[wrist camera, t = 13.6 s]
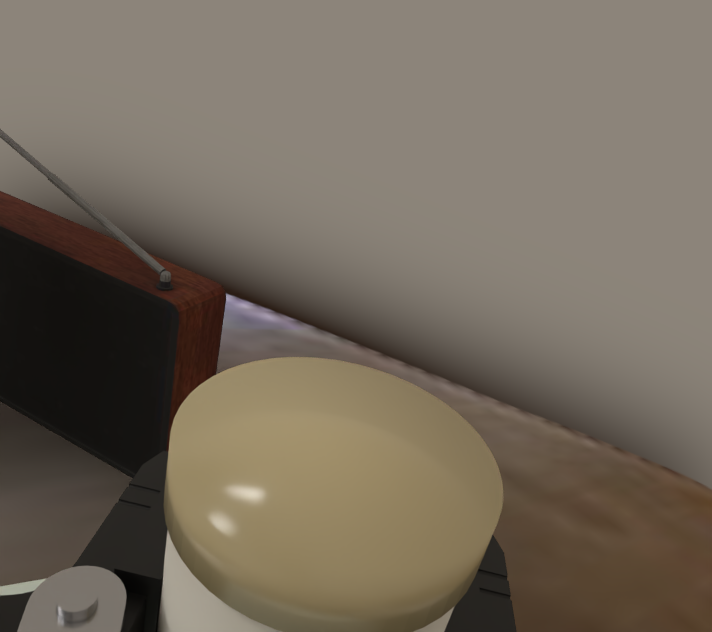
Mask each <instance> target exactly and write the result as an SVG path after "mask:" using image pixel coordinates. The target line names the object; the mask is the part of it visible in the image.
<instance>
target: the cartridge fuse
mask: <svg viewBox="0 0 712 632" xmlns="http://www.w3.org/2000/svg"><path fill="white" fill-rule="evenodd" d="M502 505H503V485H502V478H501V475H500V471H499V468H498V465H497V463H496V461H495V459H494V457H493V455H492V452H491V451H490V449H489V448H488V446H487V445H486V443H485V442H484V440H483V439H482V438H481V436H480V435H479V434H478V433H477V432H476V430H475V429H474V428H473V427H472V426H471V425H470V424H469V423H468V422H467V421H466V420H465V419H464V418H463V417H462V416H461V415H459V414H458V413H457V412H456V411H454V410H453V409H452V408H451V407H450V406H448V405H447V404H445V403H444V402H442V401H441V400H440V399H438V398H437V397H435V396H433V395H432V394H430V393H428V392H427V391H425V390H423V389H421V388H420V387H418V386H416V385H413V384H411V383H409V382H407V381H405V380H403V379H401V378H398V377H396V376H393V375H391V374H388V373H385V372H382V371H379V370H376V369H373V368H370V367H366V366H362V365H359V364H354V363H349V362H344V361H339V360H332V359H325V358H312V357H283V358H271V359H264V360H258V361H253V362H249V363H245V364H241V365H238V366H235V367H233V368H230V369H227V370H225V371H223V372H221V373H219V374H216V375H214V376H212V377H211V378H209V379H208V380H206V381H205V382H203V383H202V384H200V385H199V386H198V387H197V388H196V389H195V390H193V391H192V392H191V393H190V394H189V395H188V397H187V398H186V399H185V400H184V402H183V403H182V404H181V406H180V408H179V409H178V411H177V413H176V415H175V417H174V420H173V424H172V428H171V432H170V441H169V451H168V461H167V470H166V480H165V490H164V505H163V506H164V514H165V522H166V525H167V529H168V531H167V540H166V549H165V558H164V573H163V583H162V592H161V601H160V610H159V619H158V628H157V632H444V631H445V629H446V626H447V624H448V621H449V619H450V616H451V614H452V611H453V609H454V606H455V605H456V604H457V603H458V602H459V601H460V599H461V598H462V597H463V596H464V595H465V594H466V592H467V591H468V589H469V587H470V585H471V584H472V582H473V580H474V578H475V576H476V573H477V571H478V569H479V566H480V564H481V561H482V559H483V557H484V554H485V552H486V549H487V547H488V545H489V542H490V540H491V537H492V535H493V533H494V530H495V528H496V525H497V523H498V520H499V517H500V514H501V510H502Z"/></svg>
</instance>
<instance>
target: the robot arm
mask: <svg viewBox="0 0 712 632" xmlns="http://www.w3.org/2000/svg"><path fill="white" fill-rule="evenodd" d="M167 461H168V452H167V451H162V452H161V453H159V454H158V455H156V456H155V457H153V458H152V459H150V460H149V461H147V462H146V463H144V464H143V465H142V466H141V468H140V469H139V471H138V472H137V473H136V475H135V476H134V478H133V479H132V481H131V482H130V485H129V487H127V488H126V490H125V491H124V493H123V494H122V496H121V497H120V498H119V502H118V503H116V504H115V506H114V507H113V509H112V510H111V512H110V513H109V515H108V516H107V518H106V519H105V521H104V522H103V524H102V525H101V526H100V528H99V529H98V531H97V532H96V534H95V535H94V537H93V538H92V540H91V541H90V543H89V544H88V546H87V547H86V549H85V550H84V552H83V553H82V554H81V556H80V557H79V559H78V560H77V562H76V563H75V564H74V566H73V567H72V568H68V569H65V570H62V571H60V572H58V573H55V574H54V575H52V576H50V577H49V578H47V579H46V580H45V581H43V582H42V583H41V584H40V585H39V586H38V587H37V588H36V589H35V590H34V591H31V592H26V593H22V594H13V595H0V632H157V628H158V619H159V610H160V601H161V592H162V583H163V573H164V558H165V549H166V540H167V531H168V529H167V525H166V522H165V514H164V506H163V505H164V490H165V480H166V470H167ZM510 596H511V595H510V588H509V582H508V581H507V569H506V563H505V557H504V552H503V551H502V549H501V547H500V546H499V544H498V542H497V541H496V539H495V537H494V536H493V535H492V537H491V540H490V542H489V545H488V547H487V549H486V552H485V554H484V557H483V559H482V561H481V564H480V566H479V569H478V571H477V573H476V576H475V578H474V580H473V582H472V584H471V585H470V587H469V589H468V591H467V592H466V594H465V595H464V596H463V597H462V598H461V599H460V601H459V602H458V603H457V604H456V605H455V606H454V609H453V611H452V614H451V616H450V619H449V621H448V624H447V626H446V629H445V631H444V632H516V626H515V620H514V614H513V607H512V601H511V600H510Z"/></svg>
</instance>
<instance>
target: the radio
mask: <svg viewBox="0 0 712 632" xmlns="http://www.w3.org/2000/svg"><path fill="white" fill-rule="evenodd" d="M0 137H1V138H2V139H3V140H4V141H5V142H7V143H8V144H9V145H10V146H11V147H12V148H13V149H15V150H16V151H17V152H18V153H19V154H20V155H22V156H23V157H24V158H25V159H26V160H27V161H29V162H30V163H31V164H32V165H33V166H34V167H36V168H37V169H38V170H39V171H40V172H42V173H43V174H44V175H45V176H46V177H47V178H48V180H49V181H50V182H52V183H53V184H54V185H55V186H56V187H57V188H59V189H60V190H61V191H62V192H64V193H65V194H66V195H67V196H68V197H69V198H70V199H72V200H73V201H74V202H75V203H76V204H77V205H79V206H80V207H81V208H82V209H83V210H84V211H85V212H87V213H88V214H89V215H90V216H91V217H92V218H94V219H95V220H96V221H97V222H98V223H99V224H101V225H102V226H103V227H104V228H105V229H106V230H108V231H109V232H110V233H111V234H112V235H114V236H115V237H116V238H117V239H118V240H119V241H118V240H115V239H113V238H110V237H108V236H106V235H103V234H101V233H99V232H96V231H94V230H91V229H89V228H87V227H84V226H82V225H80V224H77V223H74V222H73V221H70V220H68V219H65V218H63V217H61V216H58V215H56V214H54V213H51V212H49V211H47V210H44V209H42V208H39V207H37V206H35V205H32V204H30V203H27V202H25V201H23V200H20V199H18V198H16V197H13V196H11V195H9V194H6V193H4V192H1V191H0V401H1V402H2V403H4V404H6V405H8V406H9V407H11V408H13V409H15V410H16V411H18V412H20V413H21V414H23V415H25V416H27V417H28V418H30V419H32V420H33V421H35V422H37V423H39V424H40V425H42V426H44V427H46V428H47V429H49V430H51V431H52V432H54V433H56V434H58V435H59V436H61V437H63V438H64V439H66V440H68V441H70V442H71V443H73V444H75V445H77V446H78V447H80V448H82V449H83V450H85V451H87V452H89V453H90V454H92V455H94V456H95V457H97V458H99V459H101V460H102V461H104V462H106V463H108V464H109V465H111V466H113V467H114V468H116V469H118V470H120V471H121V472H123V473H125V474H126V475H128V476H130V477H132V478H134V476H135V475H136V473H137V472H138V471H139V469H140V468H141V466H142V465H143V464H144V463H146V462H147V461H149V460H150V459H152V458H153V457H155V456H156V455H158V454H159V453H161V452H162V451H167V452H168V451H169V441H170V432H171V428H172V424H173V420H174V417H175V415H176V413H177V411H178V409H179V408H180V406H181V404H182V403H183V402H184V400H185V399H186V398H187V397H188V395H189V394H190V393H191V392H192V391H193V390H195V389H196V388H197V387H198V386H199V385H200V384H202V383H203V382H205V381H206V380H208V379H209V378H211V377H212V376H214V375H216V369H217V362H218V355H219V347H220V340H221V332H222V325H223V318H224V310H225V303H226V292H225V290H224V288H223V287H222V286H221V285H220V284H218V283H217V282H215V281H212V280H210V279H207V278H205V277H203V276H201V275H198V274H196V273H193V272H191V271H189V270H186V269H184V268H182V267H179V266H177V265H174V264H172V263H170V262H167V261H165V260H162V259H160V258H158V257H155V256H153V255H150V254H148V253H146V252H145V251H144V250H143V249H141V248H140V247H139V246H138V245H137V244H136V243H134V242H133V241H132V240H131V239H130V238H129V237H127V236H126V235H125V234H124V233H123V232H121V231H120V230H119V229H118V228H117V227H116V226H115V225H113V224H112V223H111V222H110V221H109V220H108V219H106V218H105V217H104V216H103V215H102V214H100V213H99V212H98V211H97V210H96V209H95V208H94V207H92V206H91V205H90V204H89V203H88V202H86V201H85V200H84V199H83V198H82V197H81V196H79V195H78V194H77V193H76V192H75V191H74V190H72V189H71V188H70V187H69V186H68V185H67V184H65V183H64V182H63V181H62V180H61V179H59V178H58V177H57V176H56V175H55V174H53V173H51V172H50V171H49V170H48V169H46V168H45V167H44V166H43V165H41V163H39V162H38V161H37V160H35V158H34V157H32V156H31V155H30V154H29V153H28V152H26V151H25V150H24V149H23V148H22V147H20V146H19V145H18V144H17V143H16V142H15V141H14V140H12V139H11V138H10V137H9V136H8V135H7V134H5V133H4V132H3V131H2V130H1V129H0Z"/></svg>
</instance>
